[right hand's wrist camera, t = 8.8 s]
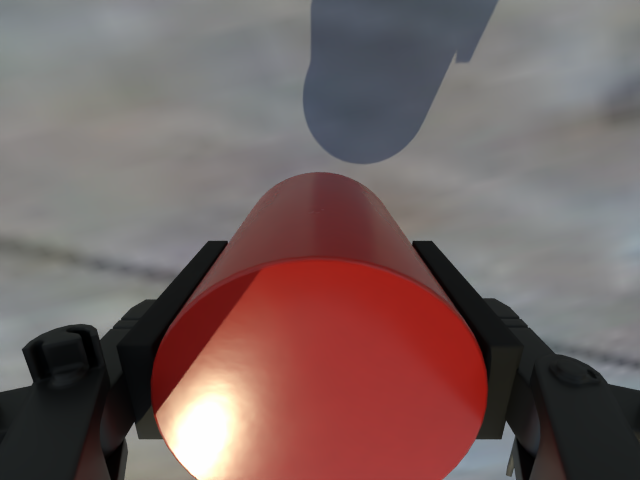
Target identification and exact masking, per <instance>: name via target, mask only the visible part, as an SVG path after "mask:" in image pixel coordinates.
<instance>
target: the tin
mask: <svg viewBox="0 0 640 480" xmlns="http://www.w3.org/2000/svg"><path fill="white" fill-rule="evenodd" d="M487 397H488V381H487V369H486V365H485V362H484V358H483V354H482V351H481V349H480V346H479V344H478V342H477V340H476V338H475V336H474V334H473V332H472V331H471V329H470V328H469V326H468V325H467V323H466V322H465V320H464V319H463V317H462V316H461V314H460V313H459V312H458V310H457V309H456V307H455V306H454V304H453V303H452V302H451V300H450V299H449V297H448V296H447V294H446V293H445V292H444V290H443V289H442V287H441V286H440V284H439V283H438V282H437V280H436V279H435V277H434V276H433V274H432V273H431V272H430V270H429V269H428V267H427V266H426V264H425V263H424V262H423V260H422V259H421V257H420V256H419V255H418V253H417V252H416V250H415V249H414V247H413V246H412V245H411V243H410V242H409V240H408V239H407V237H406V236H405V235H404V233H403V232H402V230H401V229H400V227H399V226H398V225H397V223H396V222H395V220H394V219H393V217H392V216H391V215H390V213H389V212H388V210H387V209H386V207H385V206H384V205H383V203H382V202H381V201H380V199H379V198H378V197H377V196H376V195H375V194H374V193H373V192H372V191H370V190H369V189H368V188H367V187H365V186H364V185H362V184H361V183H359V182H357V181H355V180H353V179H351V178H349V177H345V176H342V175H339V174H333V173H326V172H314V173H305V174H301V175H297V176H294V177H291V178H289V179H286V180H284V181H282V182H281V183H279V184H277V185H275V186H274V187H273V188H271V189H270V190H269V191H268V192H267V193H266V194H265V195H264V196H262V197H261V199H260V200H259V201H258V203H257V204H256V205H255V206H254V208H253V209H252V211H251V212H250V214H249V215H248V216H247V218H246V219H245V221H244V222H243V223H242V225H241V226H240V228H239V229H238V230H237V232H236V233H235V235H234V236H233V237H232V239H231V240H230V242H229V243H228V244H227V246H226V247H225V249H224V250H223V252H222V253H221V254H220V256H219V257H218V259H217V260H216V261H215V263H214V264H213V266H212V267H211V268H210V270H209V271H208V273H207V274H206V275H205V277H204V278H203V280H202V281H201V283H200V284H199V285H198V287H197V288H196V290H195V291H194V292H193V294H192V295H191V297H190V298H189V299H188V301H187V302H186V304H185V305H184V306H183V308H182V309H181V311H180V312H179V314H178V315H177V316H176V318H175V319H174V321H173V322H172V323H171V325H170V326H169V328H168V330H167V332H166V333H165V335H164V337H163V339H162V341H161V343H160V345H159V348H158V351H157V353H156V356H155V359H154V363H153V369H152V375H151V402H152V408H153V413H154V417H155V420H156V423H157V426H158V429H159V432H160V434H161V436H162V437H163V439H164V441H165V443H166V445H167V447H168V448H169V450H170V451H171V452H172V454H173V455H174V457H175V458H176V459H177V461H178V462H179V463H180V464H181V465H182V466H183V467H184V468H185V469H186V470H187V471H188V472H189V473H190V474H191V475H192V476H193V477H194V478H195V479H197V480H442V479H444V478H445V477H446V476H447V475H448V474H449V473H450V472H451V471H452V470H453V469H454V468H455V467H456V466H457V465H458V464H459V462H460V461H461V460H462V459H463V458H464V456H465V455H466V454H467V452H468V451H469V449H470V448H471V446H472V444H473V443H474V441H475V439H476V437H477V435H478V433H479V430H480V428H481V426H482V423H483V419H484V415H485V411H486V407H487Z"/></svg>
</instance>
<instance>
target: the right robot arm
mask: <svg viewBox="0 0 640 480" xmlns="http://www.w3.org/2000/svg"><path fill="white" fill-rule="evenodd" d="M227 244H228V241H208V242H207V243H206V244H205V245H204V246H203V248H202V249H201V250H200V251H199V252H198V253H197V254H196V256H195V257H194V258H193V259H192V260H191V261H190V262H189V264H188V265H187V266H186V267H185V268H184V269H183V270H182V271H181V273H180V274H179V275H178V276H177V277H176V278H175V279H174V281H173V282H172V283H171V284H170V285H169V286H168V287H167V289H166V290H165V291H164V292H163V293H162V294H161V295H160V296H159V298H158V299H157V300H144V301H143V302H141V303H139V304H138V305H136V306H134V307H132V308H131V309H130V310H129V311H128V312H127V313H126V314H125V315H124V316H123V317H122V318H121V320H119V321H118V322H117V323H116V324H115V325H114V326H113V329H110V330H109V331H108V332H107V333H106V335H105V336H104V337H103V338H102V339H101V340H99V336H98V332H97V329H96V328H94V327H93V326H91V325H85V324H77V325H68V326H64V327H60V328H56V329H53V330H51V331H49V332H46V333H44V334H41V335H40V336H38V337H36V338H35V339H33V340H32V341H30V342H29V343H28V344H27V345H26V346H25V347H24V348H23V349H22V351H23V354H24V357H25V360H26V362H27V365H28V368H29V371H30V374H31V376H32V379H33V384H32V386H28V387H23V388H18V389H14V390H9V391H4V392H0V480H124V476H125V469H126V462H127V455H128V449H127V443H126V439H125V436H126V435H127V433H128V431H129V430H130V428H131V426H132V425H133V423H134V422H135V425H136V430H137V434H138V438H139V439H163V437H162V436H161V434H160V432H159V429H158V426H157V423H156V420H155V417H154V413H153V408H152V402H151V375H152V369H153V363H154V359H155V356H156V353H157V351H158V348H159V345H160V343H161V341H162V339H163V337H164V335H165V333H166V332H167V330H168V328H169V326H170V325H171V323H172V322H173V321H174V319H175V318H176V316H177V315H178V314H179V312H180V311H181V309H182V308H183V306H184V305H185V304H186V302H187V301H188V299H189V298H190V297H191V295H192V294H193V292H194V291H195V290H196V288H197V287H198V285H199V284H200V283H201V281H202V280H203V278H204V277H205V275H206V274H207V273H208V271H209V270H210V268H211V267H212V266H213V264H214V263H215V261H216V260H217V259H218V257H219V256H220V254H221V253H222V252H223V250H224V249H225V247H226V246H227ZM412 246H413V247H414V249H415V250H416V252H417V253H418V255H419V256H420V257H421V259H422V260H423V262H424V263H425V264H426V266H427V267H428V269H429V270H430V272H431V273H432V274H433V276H434V277H435V279H436V280H437V282H438V283H439V284H440V286H441V287H442V289H443V290H444V292H445V293H446V294H447V296H448V297H449V299H450V300H451V302H452V303H453V304H454V306H455V307H456V309H457V310H458V312H459V313H460V314H461V316H462V317H463V319H464V320H465V322H466V323H467V325H468V326H469V328H470V329H471V331H472V332H473V334H474V336H475V338H476V340H477V342H478V344H479V346H480V349H481V351H482V354H483V358H484V362H485V365H486V369H487V381H488V397H487V407H486V411H485V415H484V419H483V423H482V426H481V428H480V430H479V433H478V435H477V437H476V439H502V435H503V431H504V427H505V422H506V421H507V423H508V424H509V426H510V428H511V429H512V431H513V432H514V434H515V439H514V443H513V447H512V451H511V454H510V458H509V462H508V466H507V472H506V475H507V476H510V477H511V476H512V473H513V469H514V468H515V475H516V480H640V391H639V390H634V389H630V388H625V387H620V386H615V385H610V384H608V383H607V381H606V380H605V379H604V378H603V377H602V375H601V374H600V373H599V372H597V371H596V370H595V369H593V368H592V367H590V366H589V365H587V364H585V363H583V362H581V361H579V360H577V359H574V358H571V357H567V356H564V355H558V354H555V353H554V352H553V351H552V350H551V349H550V348H549V347H548V346H547V345H546V344H545V343H544V342H543V341H542V340H541V339H540V338H539V337H538V336H537V335H536V334H535V333H534V332H533V331H532V330H531V329H530V328H528V325H527V324H526V323H525V322H524V321H523V320H522V319H519V316H518V315H517V314H516V313H515V312H514V311H513V310H512V309H511V308H510V307H508V306H507V305H505V304H503V303H502V302H500V301H498V300H496V299H495V298H482V297H481V296H480V295H479V294H478V293H477V292H476V291H475V289H474V288H473V287H472V286H471V285H470V284H469V283H468V281H467V280H466V279H465V278H464V277H463V276H462V275H461V273H460V272H459V271H458V270H457V269H456V268H455V267H454V266H453V264H452V263H451V262H450V261H449V260H448V259H447V258H446V256H445V255H444V254H443V253H442V252H441V251H440V250H439V248H438V247H437V246H436V245H435V244H434V243H433V242H432V241H413V243H412Z"/></svg>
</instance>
